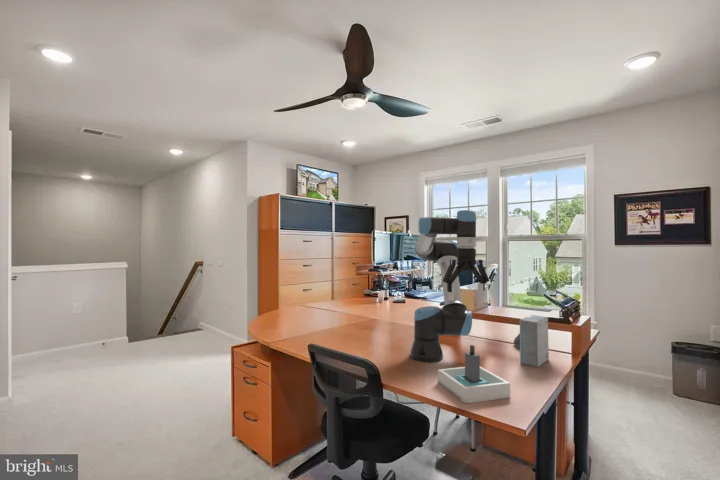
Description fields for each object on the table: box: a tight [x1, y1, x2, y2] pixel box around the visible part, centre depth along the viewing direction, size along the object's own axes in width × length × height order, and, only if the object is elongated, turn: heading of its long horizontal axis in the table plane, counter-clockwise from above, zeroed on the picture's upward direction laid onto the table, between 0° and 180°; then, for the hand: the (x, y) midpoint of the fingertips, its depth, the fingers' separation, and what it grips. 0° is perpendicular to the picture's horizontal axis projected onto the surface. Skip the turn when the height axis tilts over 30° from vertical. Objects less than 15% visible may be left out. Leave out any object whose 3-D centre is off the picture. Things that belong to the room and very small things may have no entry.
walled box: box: [437, 366, 511, 404], centre depth 123 cm, size 18×18×5 cm
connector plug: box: [464, 344, 481, 383], centre depth 123 cm, size 4×3×15 cm
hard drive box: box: [519, 314, 550, 368], centre depth 154 cm, size 16×8×20 cm, turn 134°
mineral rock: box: [513, 332, 520, 349], centre depth 174 cm, size 13×11×10 cm
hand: (466, 299), depth 137 cm, fingers open, 13 cm apart
